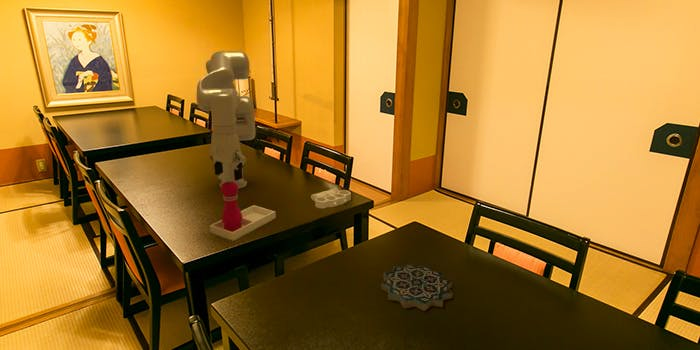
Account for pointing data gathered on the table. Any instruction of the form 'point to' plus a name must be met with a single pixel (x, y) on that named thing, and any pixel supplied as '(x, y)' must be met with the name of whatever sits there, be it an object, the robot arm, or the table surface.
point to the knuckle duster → (331, 198)
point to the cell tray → (245, 222)
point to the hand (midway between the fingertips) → (228, 176)
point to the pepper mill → (231, 206)
